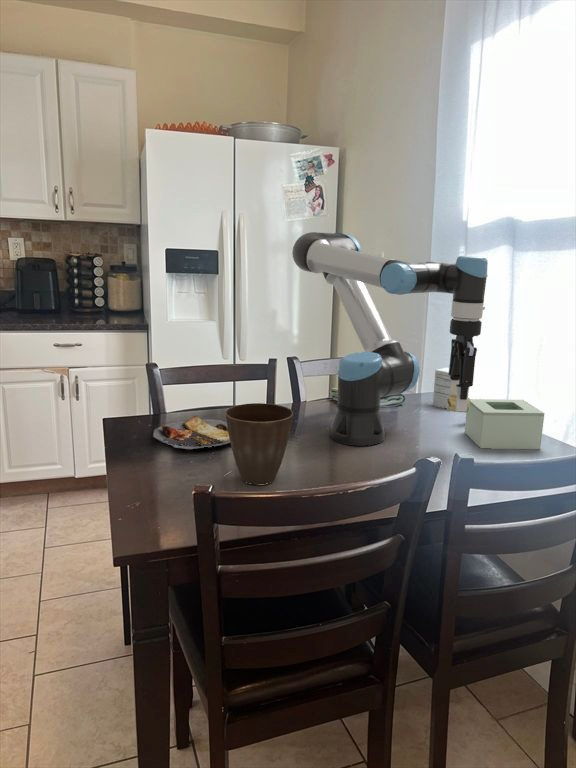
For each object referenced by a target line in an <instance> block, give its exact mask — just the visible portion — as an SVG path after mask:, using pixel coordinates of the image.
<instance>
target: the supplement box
mask: <svg viewBox="0 0 576 768" xmlns="http://www.w3.org/2000/svg"><path fill="white" fill-rule="evenodd" d="M448 373H449V366H448V367H442V368H437V369H435V370H434V383H433V385H434V386H433V397H432V398H433V399H432V406H433V405H434V407H437V406H438V407H437V408H440V407H443V408H442V409H444V408H447V398H448V396H449V393H450V383H451V380H452V379H450V375H449V374H448Z"/></svg>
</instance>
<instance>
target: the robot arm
mask: <svg viewBox="0 0 576 768" xmlns="http://www.w3.org/2000/svg"><path fill="white" fill-rule="evenodd" d="M292 259H293V261H294V264H295V265H296V266H297V267H298V268H299V269H300V270H302V271H304V272H307V273H308V272H309V273H314V274H322V275H323V278H324V279H325V281H326V283H327V284H329V285H333V287H334V289H335V291H336V294H337V295H338V298H339V300H340V302H341V303H342V306H343V308H344V310H345V312H346V315H347V316H348V318H349V320H350V323H351V325H352V327H353V329H354V331H355V333H356V336H357V337H358V339H359V342H360V344H361V346H362V348H363V350H364V351H361V352H353V353H349V354H346V355H344V356H343V357H341V359H340V360H339V363H338V364H339V365H338V370H337V387H338V401H337V409H336V413H335V415H334V418H333V421H332V423H331V426H330V430H329V431H330V434H329V437H330V439H332V440H333V441H334V442H336V443H339V444H343V445H348V446H355V445H356V447H358V446H359V447H362V446H363V447H364V446H366V445H368V446H374V444H375V445H378V443H379V444H381V443H383V442H384V440H385V437H386V436H385V426H384V424H383V419H382V417H381V413H380V412H381V411H380V409H381V408H380V397H385V396H389V395H394V394H401V393H403V394H404V393H405V392H408V391H410V390H411V389H414V387H415V386H416V384H417V383H418V380H419V376H420V365H419V361H418V359H417V358H416V357H415V355H414V354H412V353H411V352H408V351H404V349H403V347H402V345H401V343H400V341H398V340H395V339H393V338H392V337H391V335H390V332H389V331H388V328H387V326H386V324H385V322H384V320H383V318H382V317H381V314H380V313H379V310H378V308H377V306H376V304H375V302H374V299H373V298H372V296H371V294H370V292H369V290H368V288H367V286H366V284H367V285H371V286H375V287H378V288H382V289H384V290H385V292H387V293H388V294H390V295H407V294H408V295H409V294H423V293H425V294H426V293H443V294H452V301H451V310H450V312H451V313H450V316H451V317H452V318H451V320H450V324H449V334H451V335H453V336H455V338H451V346H450V347H451V349H450V357H449V366H448V367H449V373H448V374H449V375H450V379H452V380H451V383H450V393H449V396H453V395H455V396H456V406H455V411H465V412H466V411H467V401H468V398H469V390H470V388H471V387H473V386H474V375H475V367H476V366H475V365H476V355H477V352H478V348H477V347H475V344H474V339H473V338H474V337H478V336H480V335H481V331H482V325H483V324H482V323H483V322H482V321H481V319H482V318H483V314H484V313H483V311H484V310H485V309H486V306H484V302H485V293H486V292H485V291H486V286H487V278H488V258H487V257H485V256H470V255H469V256H468V255H466V256H465V255H460V256H457V258H456V261H455V263H447V262H446V263H445V262H434V261H423V262H422V261H421V262H407V261H402V260H397V259H393V258H389V257H385V256H384V257H383V256H381V255H380V256H379V255H375V254H371V253H367V252H362V248H361V245H360V243H359V241H358V240H357V239H356V238H355V237H354V236H353V235H350V234H347V233H343V232H334V233H332V232H316V231H315V232H313V231H311V232H307V233H304V234H301V236H299V237H298V238H297V240H295V242H294V245H293V246H292ZM465 412H464V413H465Z"/></svg>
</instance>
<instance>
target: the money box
mask: <svg viewBox="0 0 576 768" xmlns="http://www.w3.org/2000/svg"><path fill="white" fill-rule="evenodd" d="M469 399H470V403H469V411H468V412H466V413H465V424H464V433H465V434H466V436H467V437H469V438H470V439H471V441H473V443H475V444H476V445H477V446H478V447H480V448H479V449H481V448H491V450H492V449H494V450H496V449H498V450H541V447H542V445H541V444H542V437H543V429H544V422H545V421H544V420H545V412H544V411H541V410H540V409H538V408H537V407H535V406H534V405H532V404H531V403H529V402H528V401H526V400H524V399H505V398H504V399H499V398H497V399H495V398H492V399H491V398H490V399H489V398H488V399H485V398H472V399H471V398H469Z"/></svg>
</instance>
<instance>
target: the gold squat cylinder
mask: <svg viewBox="0 0 576 768" xmlns="http://www.w3.org/2000/svg"><path fill="white" fill-rule="evenodd" d="M470 399H471V398H470V397H468V401H467V411H466V412H468V411H469V403H470ZM455 406H456V396H455V395H453V396H448V398H447V409H446V410H448V411H451V412H454V413H465V411H455Z"/></svg>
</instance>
